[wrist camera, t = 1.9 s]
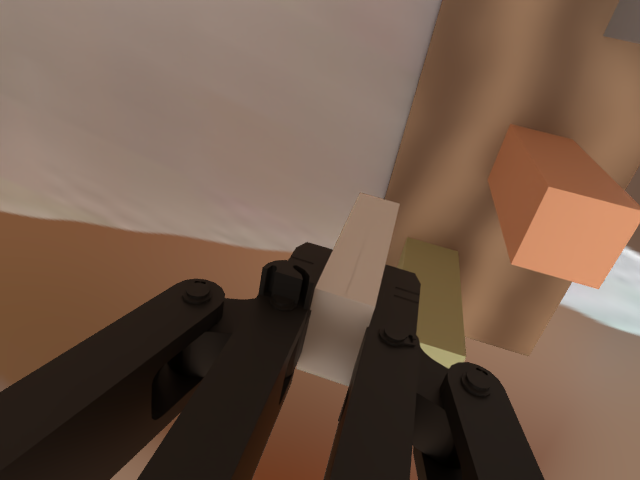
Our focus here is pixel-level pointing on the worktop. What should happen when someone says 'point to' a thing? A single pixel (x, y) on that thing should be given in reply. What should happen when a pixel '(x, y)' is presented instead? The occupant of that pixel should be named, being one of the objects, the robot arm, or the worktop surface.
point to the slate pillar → (625, 22)
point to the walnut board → (490, 130)
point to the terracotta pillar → (559, 207)
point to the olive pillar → (437, 300)
